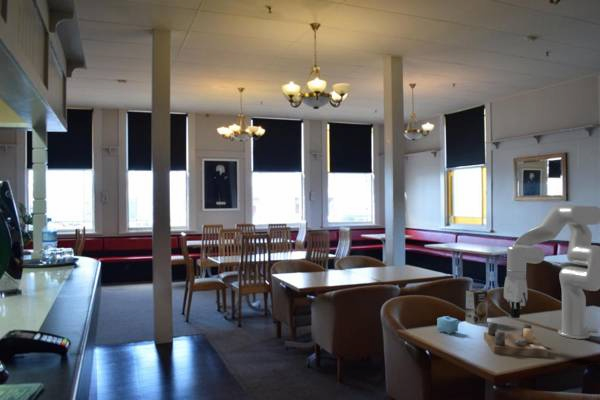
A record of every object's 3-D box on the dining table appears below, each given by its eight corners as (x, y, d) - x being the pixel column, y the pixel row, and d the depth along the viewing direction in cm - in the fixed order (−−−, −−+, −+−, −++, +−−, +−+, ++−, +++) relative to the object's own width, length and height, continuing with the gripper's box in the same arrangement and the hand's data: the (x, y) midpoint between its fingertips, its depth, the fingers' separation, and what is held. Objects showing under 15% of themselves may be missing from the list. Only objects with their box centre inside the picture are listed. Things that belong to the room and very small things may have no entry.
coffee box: (475, 324, 225) (475, 292, 225) (465, 321, 231) (465, 290, 231) (487, 322, 230) (488, 291, 230) (477, 319, 235) (477, 288, 235)
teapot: (464, 334, 209) (464, 318, 209) (457, 337, 205) (457, 320, 205) (441, 328, 218) (441, 313, 218) (434, 331, 215) (434, 315, 215)
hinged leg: (520, 345, 182) (521, 333, 182) (512, 343, 185) (512, 331, 185) (534, 341, 187) (534, 329, 187) (526, 339, 190) (526, 327, 190)
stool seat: (532, 341, 198) (532, 323, 198) (547, 357, 179) (547, 337, 179) (483, 338, 202) (484, 321, 202) (493, 353, 183) (494, 334, 183)
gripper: (497, 272, 201) (496, 313, 201) (520, 277, 187) (519, 322, 186) (512, 272, 203) (511, 313, 203) (536, 277, 188) (535, 321, 188)
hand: (515, 317), depth 195 cm, fingers closed
